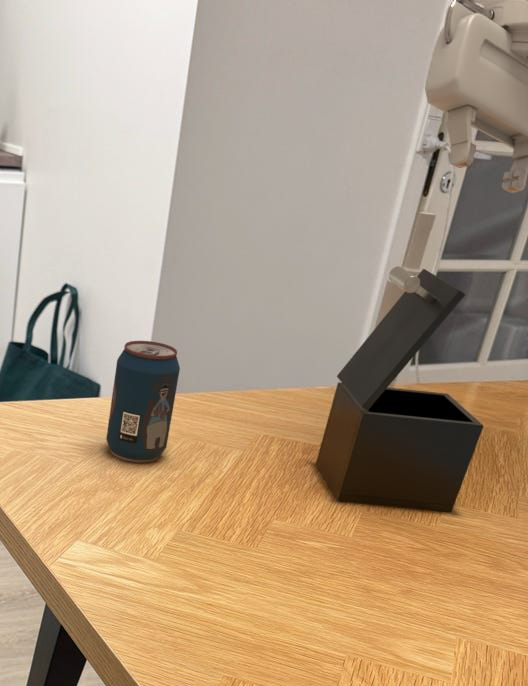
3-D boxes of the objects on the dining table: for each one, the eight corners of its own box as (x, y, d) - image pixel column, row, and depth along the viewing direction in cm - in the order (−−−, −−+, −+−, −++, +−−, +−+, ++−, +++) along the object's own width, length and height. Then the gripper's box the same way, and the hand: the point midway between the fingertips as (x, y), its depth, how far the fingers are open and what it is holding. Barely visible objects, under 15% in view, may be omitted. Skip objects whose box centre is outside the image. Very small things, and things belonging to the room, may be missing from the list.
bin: (419, 474, 106) (447, 393, 100) (451, 512, 97) (484, 425, 91) (315, 464, 105) (337, 382, 100) (337, 501, 96) (363, 413, 91)
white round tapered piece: (369, 410, 125) (427, 216, 111) (345, 398, 129) (398, 209, 115) (397, 408, 127) (457, 217, 113) (372, 396, 131) (428, 210, 117)
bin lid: (429, 272, 93) (396, 247, 92) (466, 294, 84) (430, 267, 83) (341, 380, 100) (310, 357, 98) (367, 411, 91) (333, 387, 90)
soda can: (118, 437, 106) (132, 335, 100) (172, 451, 104) (191, 347, 98) (95, 454, 101) (109, 347, 94) (152, 469, 99) (170, 361, 92)
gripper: (485, -27, 80) (456, 140, 82) (597, 53, 91) (569, 197, 93) (422, 0, 85) (397, 156, 87) (536, 72, 96) (511, 209, 99)
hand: (487, 178), depth 90 cm, fingers open, 8 cm apart
